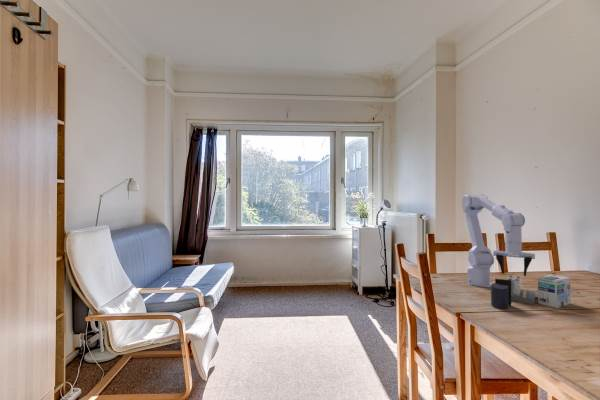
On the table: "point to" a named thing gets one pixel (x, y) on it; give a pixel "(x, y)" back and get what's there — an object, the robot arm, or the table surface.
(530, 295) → the stand
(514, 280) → the block
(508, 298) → the speaker
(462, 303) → the table surface
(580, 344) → the table surface
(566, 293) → the light bulb box
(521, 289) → the mat
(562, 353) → the table surface
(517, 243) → the robot arm
